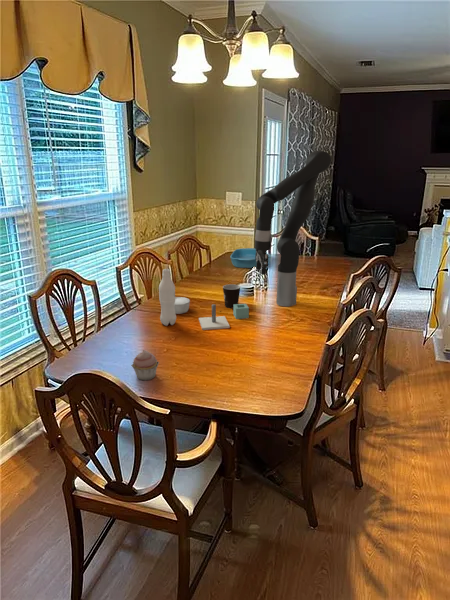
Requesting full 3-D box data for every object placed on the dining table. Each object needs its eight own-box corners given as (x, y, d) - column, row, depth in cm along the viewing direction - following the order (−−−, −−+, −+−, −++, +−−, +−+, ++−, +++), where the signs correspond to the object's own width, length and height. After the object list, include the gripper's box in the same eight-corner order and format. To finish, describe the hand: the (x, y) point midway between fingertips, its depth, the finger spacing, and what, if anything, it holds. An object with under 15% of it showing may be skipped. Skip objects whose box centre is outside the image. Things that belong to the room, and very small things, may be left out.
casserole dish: (236, 256, 323) (236, 246, 321) (267, 257, 319) (267, 247, 317) (227, 269, 289) (227, 258, 286) (262, 271, 285) (262, 260, 283)
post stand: (224, 318, 207) (224, 299, 204) (229, 327, 196) (229, 308, 193) (198, 319, 205) (198, 301, 202) (202, 329, 193) (202, 310, 190)
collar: (245, 313, 212) (245, 303, 211) (248, 318, 207) (248, 307, 205) (233, 314, 211) (233, 304, 210) (236, 318, 206) (236, 308, 204)
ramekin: (177, 305, 224) (177, 295, 222) (194, 309, 217) (194, 299, 216) (162, 311, 215) (161, 301, 213) (179, 316, 209) (179, 306, 207)
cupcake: (139, 368, 160) (138, 342, 157) (163, 372, 158) (162, 346, 154) (127, 380, 152) (125, 354, 148) (152, 384, 149) (150, 357, 146)
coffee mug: (238, 309, 217) (238, 290, 214) (221, 308, 219) (221, 288, 216) (242, 301, 228) (242, 283, 225) (225, 300, 230) (225, 282, 227)
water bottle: (179, 321, 202) (177, 268, 194) (172, 327, 196) (170, 272, 188) (164, 319, 205) (162, 267, 196) (157, 325, 198) (154, 271, 190)
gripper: (275, 242, 206) (272, 276, 212) (266, 236, 219) (264, 268, 225) (259, 242, 205) (257, 276, 210) (251, 236, 218) (249, 268, 223)
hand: (260, 272), depth 217 cm, fingers open, 8 cm apart
